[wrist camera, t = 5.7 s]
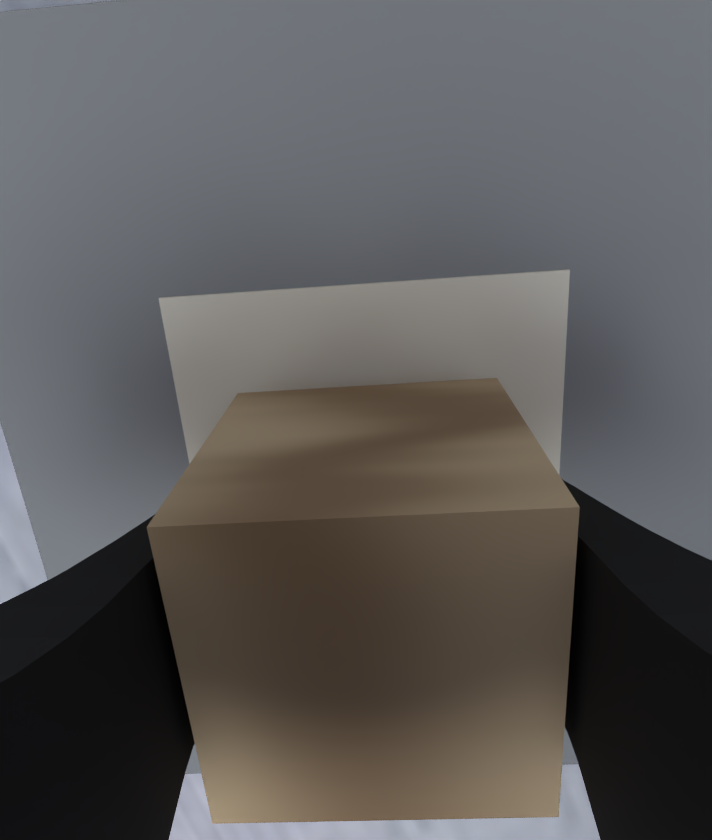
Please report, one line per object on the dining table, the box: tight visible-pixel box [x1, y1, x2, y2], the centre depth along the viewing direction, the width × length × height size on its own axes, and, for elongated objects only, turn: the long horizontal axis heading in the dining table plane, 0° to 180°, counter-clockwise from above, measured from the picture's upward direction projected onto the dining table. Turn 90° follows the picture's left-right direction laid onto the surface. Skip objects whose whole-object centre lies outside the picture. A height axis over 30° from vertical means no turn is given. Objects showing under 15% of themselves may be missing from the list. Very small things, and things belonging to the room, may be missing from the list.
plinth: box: [0, 0, 712, 774], centre depth 14 cm, size 16×18×3 cm
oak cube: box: [147, 378, 580, 824], centre depth 10 cm, size 5×5×5 cm
